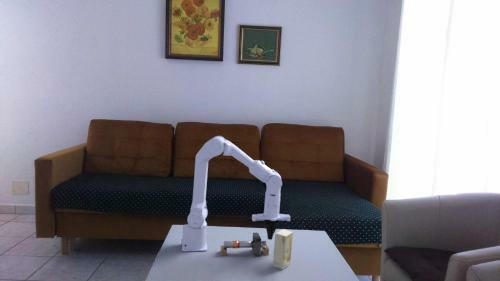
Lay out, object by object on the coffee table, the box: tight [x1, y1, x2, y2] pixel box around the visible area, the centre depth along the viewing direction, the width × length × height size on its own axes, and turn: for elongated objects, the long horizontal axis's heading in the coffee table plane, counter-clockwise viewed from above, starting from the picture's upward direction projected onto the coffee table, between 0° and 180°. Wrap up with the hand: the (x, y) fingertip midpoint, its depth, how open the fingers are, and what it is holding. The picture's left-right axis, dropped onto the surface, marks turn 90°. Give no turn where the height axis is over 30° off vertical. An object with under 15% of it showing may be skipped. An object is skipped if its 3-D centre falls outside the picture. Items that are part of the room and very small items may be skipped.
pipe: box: [220, 240, 270, 257], centre depth 133 cm, size 18×4×5 cm, turn 100°
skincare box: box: [272, 228, 294, 270], centre depth 125 cm, size 6×4×12 cm
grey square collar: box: [251, 232, 262, 257], centre depth 133 cm, size 2×6×7 cm, turn 10°
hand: (269, 238), depth 134 cm, fingers closed
